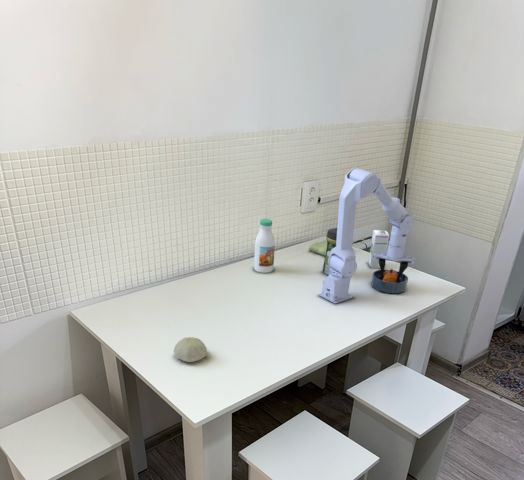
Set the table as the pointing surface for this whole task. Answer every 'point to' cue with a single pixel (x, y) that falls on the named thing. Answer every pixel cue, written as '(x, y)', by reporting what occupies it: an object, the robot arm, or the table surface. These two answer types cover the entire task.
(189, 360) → the sea urchin shell
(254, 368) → the table surface
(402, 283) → the bowl
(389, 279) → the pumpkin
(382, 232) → the syrup box
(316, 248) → the washcloth
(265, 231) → the milk bottle
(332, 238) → the coffee jar
